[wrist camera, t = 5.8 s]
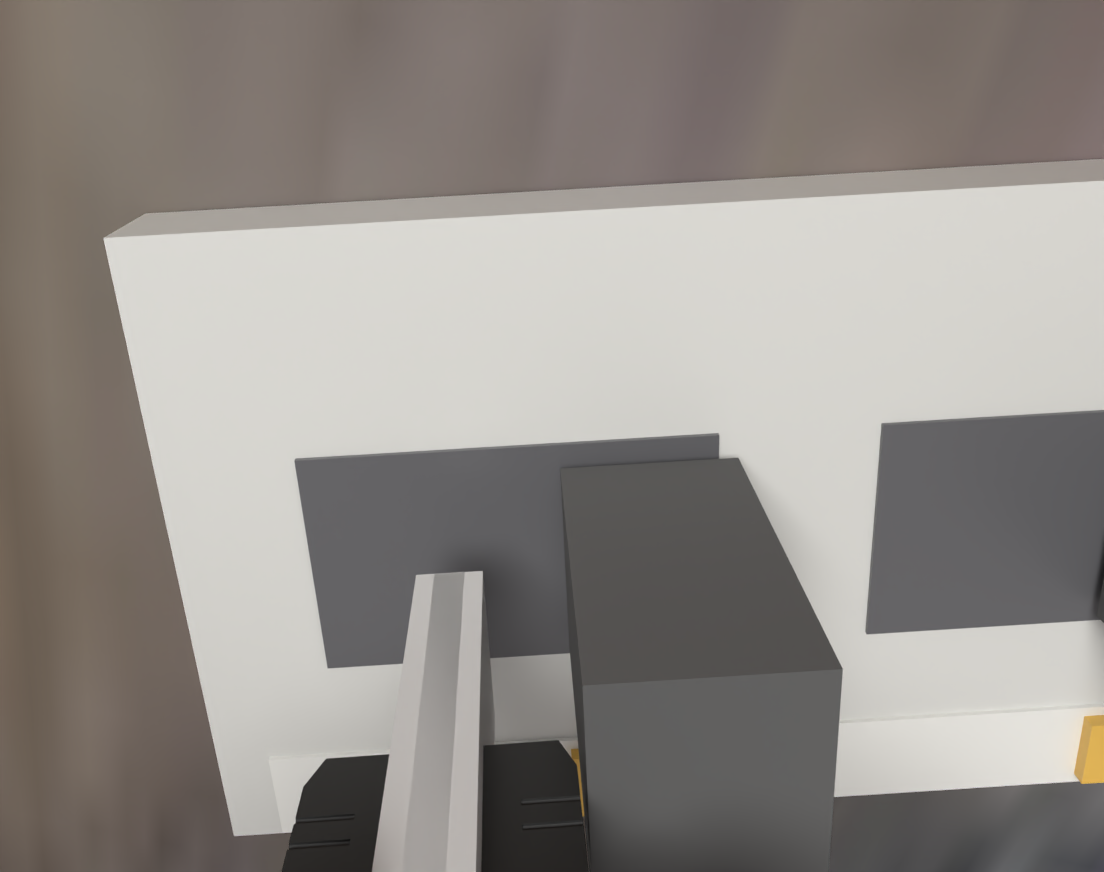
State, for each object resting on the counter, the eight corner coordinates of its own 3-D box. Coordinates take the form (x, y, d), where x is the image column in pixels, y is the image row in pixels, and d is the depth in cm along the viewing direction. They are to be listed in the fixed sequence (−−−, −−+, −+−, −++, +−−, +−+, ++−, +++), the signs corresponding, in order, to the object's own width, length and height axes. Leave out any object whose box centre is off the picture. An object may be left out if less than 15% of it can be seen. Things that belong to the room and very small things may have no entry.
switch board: (256, 767, 23) (228, 851, 20) (145, 213, 18) (93, 243, 16) (1706, 674, 23) (1833, 746, 21) (1963, 109, 18) (2162, 125, 16)
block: (569, 649, 19) (594, 917, 13) (560, 468, 17) (582, 685, 12) (734, 638, 19) (826, 903, 13) (738, 458, 18) (843, 668, 12)
